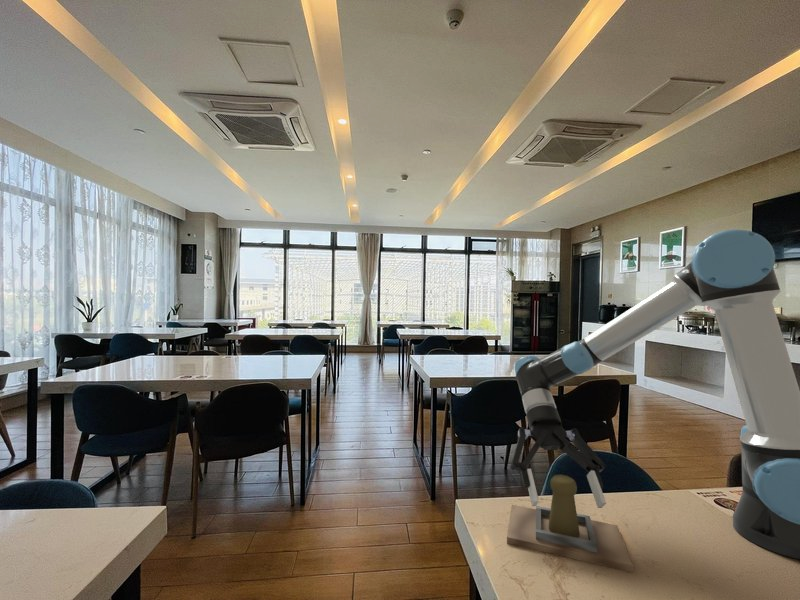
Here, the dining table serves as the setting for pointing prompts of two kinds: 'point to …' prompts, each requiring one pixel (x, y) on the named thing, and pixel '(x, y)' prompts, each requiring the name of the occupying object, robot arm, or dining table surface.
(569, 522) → the olive pawn shaped shaker
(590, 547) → the condiment stand
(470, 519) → the dining table surface
